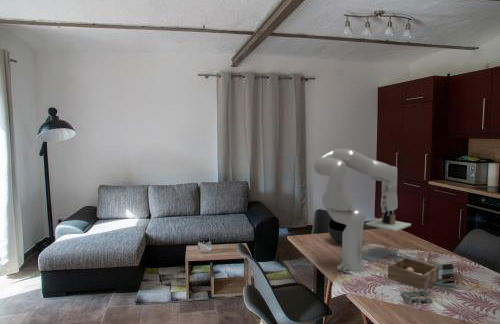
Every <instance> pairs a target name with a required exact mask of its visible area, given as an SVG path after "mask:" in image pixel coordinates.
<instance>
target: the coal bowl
mask: <svg viewBox="0 0 500 324" xmlns="http://www.w3.org/2000/svg"><path fill="white" fill-rule="evenodd" d="M345 228H346V225H345V224H341V223H338V222H336V221H334V220H333V219H332V218H331V219H330V222H329V223H328V226H327V229H328V231H327V232H328V234H329V236H330V237H331V239H333V241H335V242H336V243H338V244H341V245H342V235H343V231H344V230H345Z"/></svg>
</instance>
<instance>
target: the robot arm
mask: <svg viewBox="0 0 500 324" xmlns="http://www.w3.org/2000/svg"><path fill="white" fill-rule="evenodd" d="M347 167H348V168H350V169H352V170H354V171H356V172H358V173H360V174H363V175H368V176H369V178H370V179H372V180H374V181H379V182H381V198H380V209H381V213H382V214H383V215H384V220H383V222H384V223H388V224H389V223H390V216H389V214H393V215H395V214H394V213H395V210H397V209H398V206H399V204H398V193H397V192H398V167H396V166H394V165H391V164H388V163H385V162H382V161H379V160H377V159H373V158H371V157H370V158H369V157H367V156H366V155H363V154H362V153H360V152H358V151H356V150H355V149H351V148H335V149H333V150H331V151H328V152H326V153H325V154H323V155H322V156H320V157H318V158H316V160H315V162H314V163H313V170H314V172H315V173H316V174H317V175H320V176H325V177H326V176H327V177H328V179H327V180H328V181H327V182H326V184H325V185H326V186H325V190H326V191H324V193H322V197H321V202H322V205H323V207H324V209H325V210H326V212H327V214H328V215H329V216H330V218H331V219H333V220H334V221H336V222H338V223H341V224H345V225H346V228H345V230H344V231H343V235H342V244H341V252H342V253H341V263H339V264H338V265H337V266H336V268H337V269H338V270H339V271H341V272H344V273H346V274H351V275H352V274H353V273H362V272H364V271H365V266H364V265H363V264H362V261H363V259H362V255H363V231H364V230H363V229H364V225H365V223H366V222H365V220H366V214H365V212H364V211H363V210H362V209H360V208H358V207H355V206H354V200H353V198H352V196H351V195H350V193H349V191H348V189H347V188H346V186H345V184H344V181H345V175H346V172H347Z"/></svg>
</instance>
